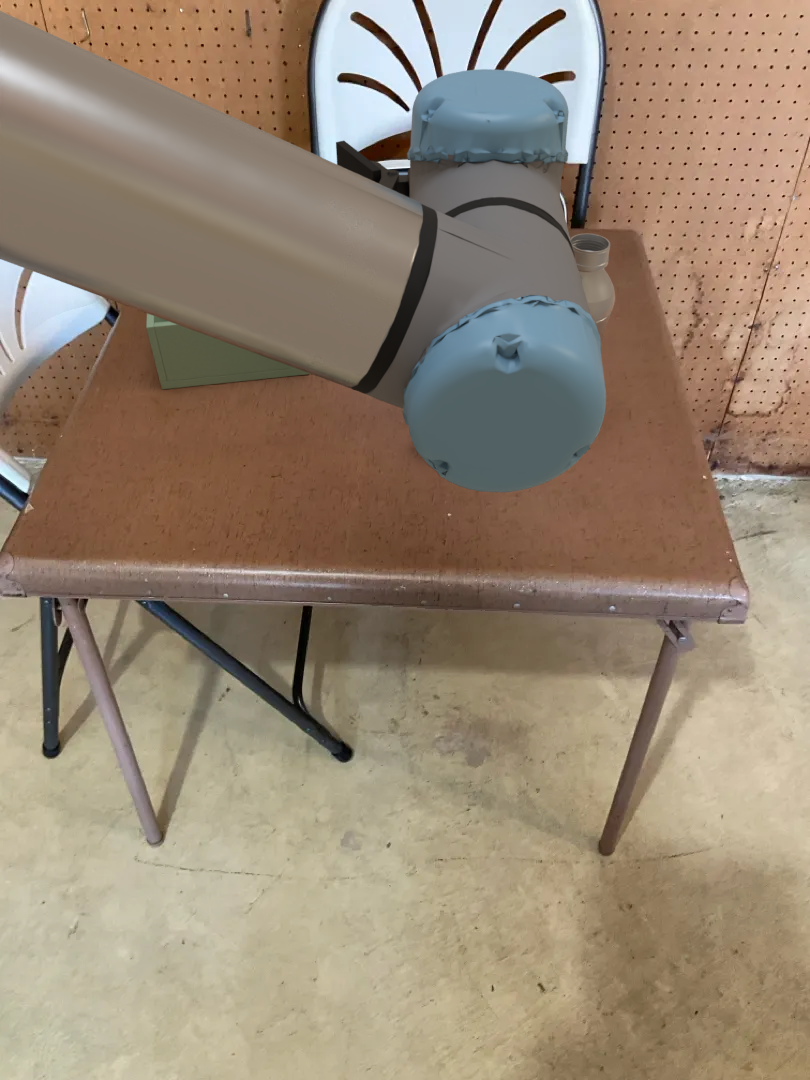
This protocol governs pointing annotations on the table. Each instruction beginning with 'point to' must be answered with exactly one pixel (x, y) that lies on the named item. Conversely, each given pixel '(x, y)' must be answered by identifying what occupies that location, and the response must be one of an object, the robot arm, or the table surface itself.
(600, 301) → the plastic bottle
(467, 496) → the table surface
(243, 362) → the bin
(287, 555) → the table surface
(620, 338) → the table surface
